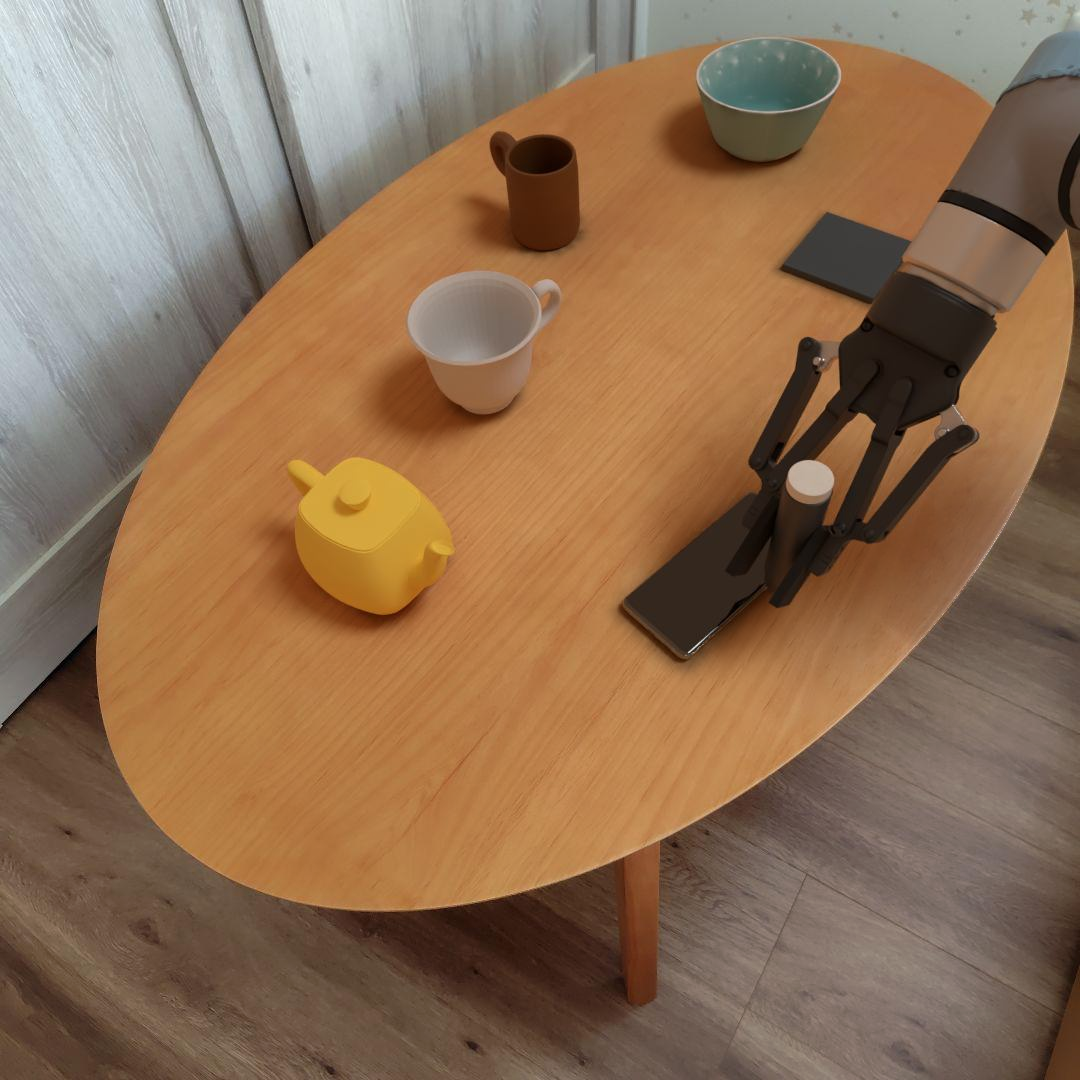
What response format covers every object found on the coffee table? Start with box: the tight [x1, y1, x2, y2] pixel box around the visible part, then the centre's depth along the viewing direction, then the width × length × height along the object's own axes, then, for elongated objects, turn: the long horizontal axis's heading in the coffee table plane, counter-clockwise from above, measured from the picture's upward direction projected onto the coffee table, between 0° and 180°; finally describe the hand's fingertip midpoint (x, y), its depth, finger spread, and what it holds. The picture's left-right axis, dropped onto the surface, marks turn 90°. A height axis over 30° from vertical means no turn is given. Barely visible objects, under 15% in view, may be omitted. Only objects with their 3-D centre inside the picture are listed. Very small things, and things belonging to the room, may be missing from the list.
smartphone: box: [622, 491, 772, 660], centre depth 77 cm, size 7×1×16 cm
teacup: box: [405, 270, 563, 415], centre depth 87 cm, size 12×15×10 cm
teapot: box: [286, 456, 456, 616], centre depth 76 cm, size 18×11×11 cm, turn 53°
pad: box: [781, 211, 912, 305], centre depth 98 cm, size 10×10×1 cm
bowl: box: [695, 36, 842, 163], centre depth 108 cm, size 16×16×8 cm
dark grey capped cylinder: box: [764, 460, 835, 594], centre depth 67 cm, size 3×3×13 cm
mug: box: [489, 130, 581, 251], centre depth 101 cm, size 12×8×9 cm, turn 41°
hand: (757, 587), depth 68 cm, fingers closed on dark grey capped cylinder, 3 cm apart
